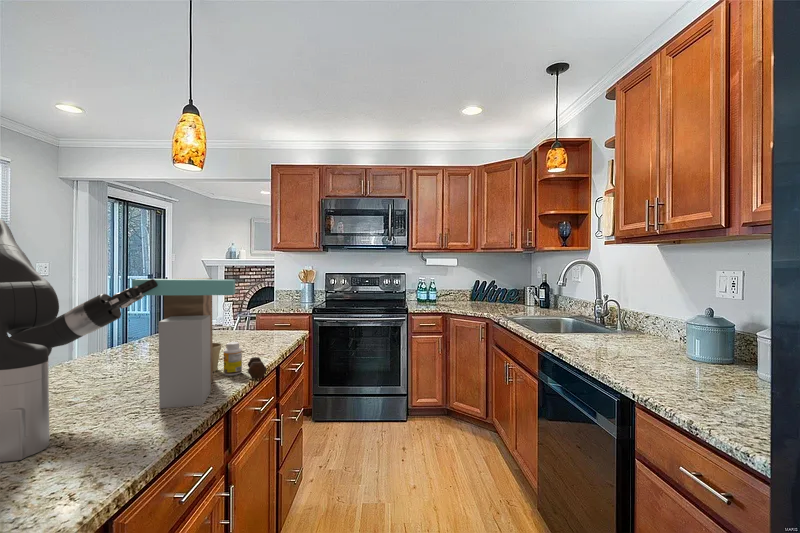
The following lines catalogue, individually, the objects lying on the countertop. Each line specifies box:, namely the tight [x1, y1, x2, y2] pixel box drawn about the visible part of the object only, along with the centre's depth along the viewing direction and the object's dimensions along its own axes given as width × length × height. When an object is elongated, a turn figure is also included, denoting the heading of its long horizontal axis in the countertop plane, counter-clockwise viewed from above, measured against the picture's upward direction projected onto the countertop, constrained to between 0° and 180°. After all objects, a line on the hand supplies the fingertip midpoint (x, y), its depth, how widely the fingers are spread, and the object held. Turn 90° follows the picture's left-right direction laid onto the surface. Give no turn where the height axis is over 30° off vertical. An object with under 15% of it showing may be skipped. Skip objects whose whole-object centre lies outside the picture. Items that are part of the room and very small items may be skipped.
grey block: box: [158, 315, 212, 409], centre depth 108 cm, size 10×10×22 cm
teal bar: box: [131, 278, 236, 296], centre depth 108 cm, size 4×24×4 cm, turn 104°
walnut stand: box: [163, 277, 214, 383], centre depth 119 cm, size 12×10×32 cm
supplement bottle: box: [223, 341, 243, 377], centre depth 133 cm, size 6×6×10 cm
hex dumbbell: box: [247, 356, 268, 379], centre depth 135 cm, size 6×5×15 cm
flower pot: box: [212, 342, 223, 373], centre depth 137 cm, size 9×9×9 cm
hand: (158, 281), depth 106 cm, fingers closed on teal bar, 4 cm apart
